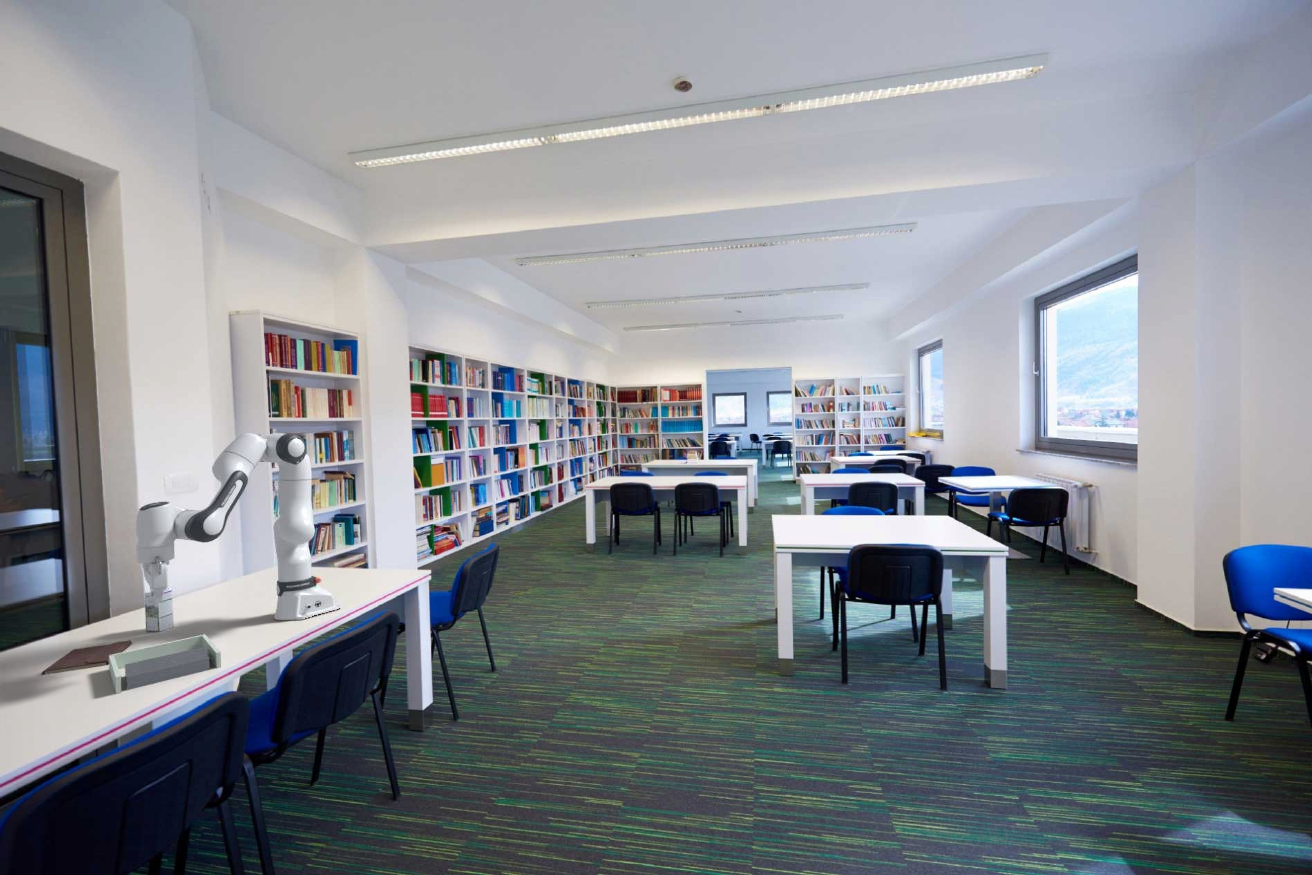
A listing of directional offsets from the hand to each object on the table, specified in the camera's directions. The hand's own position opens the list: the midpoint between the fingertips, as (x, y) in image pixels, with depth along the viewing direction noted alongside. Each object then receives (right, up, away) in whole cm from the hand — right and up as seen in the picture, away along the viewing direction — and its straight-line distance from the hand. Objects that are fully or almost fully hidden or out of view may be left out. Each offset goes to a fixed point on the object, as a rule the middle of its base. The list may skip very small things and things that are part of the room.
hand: (156, 599), depth 176 cm
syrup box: (-26, -20, +31) cm, 46 cm away
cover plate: (+11, -20, -8) cm, 24 cm away
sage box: (+7, -20, -5) cm, 21 cm away
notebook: (-25, -21, +4) cm, 33 cm away
